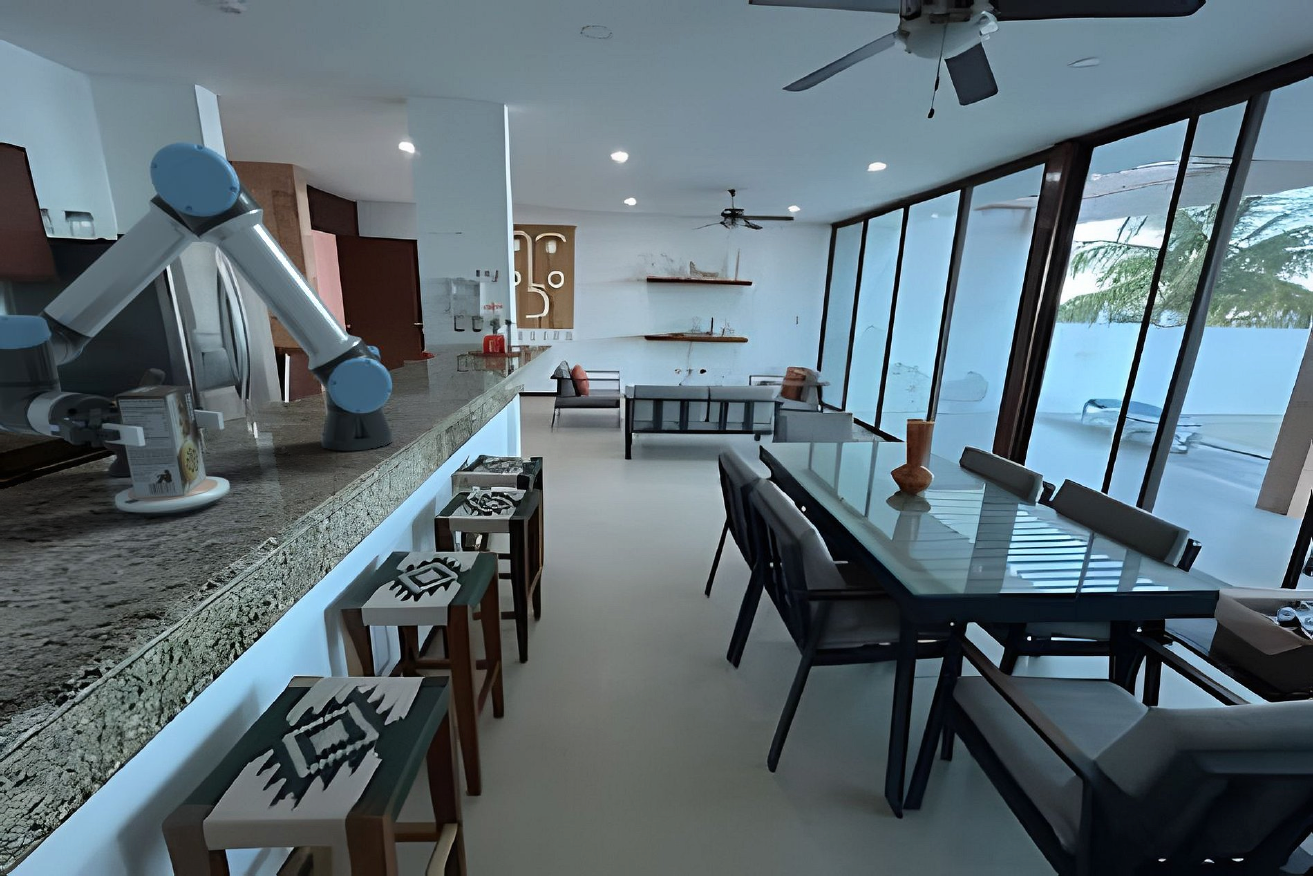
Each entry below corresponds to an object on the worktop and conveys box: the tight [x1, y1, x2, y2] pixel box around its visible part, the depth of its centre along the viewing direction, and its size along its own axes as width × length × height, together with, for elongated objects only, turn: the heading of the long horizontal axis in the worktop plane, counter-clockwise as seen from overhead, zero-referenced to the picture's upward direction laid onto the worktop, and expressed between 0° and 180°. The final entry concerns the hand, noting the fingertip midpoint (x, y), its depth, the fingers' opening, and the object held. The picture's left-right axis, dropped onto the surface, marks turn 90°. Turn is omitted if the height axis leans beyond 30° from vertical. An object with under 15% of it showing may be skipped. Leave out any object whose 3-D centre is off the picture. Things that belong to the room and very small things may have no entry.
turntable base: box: [135, 499, 217, 519], centre depth 90 cm, size 10×10×2 cm
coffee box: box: [114, 384, 207, 499], centre depth 87 cm, size 9×6×16 cm
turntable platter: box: [114, 475, 231, 513], centre depth 90 cm, size 14×14×1 cm
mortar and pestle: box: [103, 367, 166, 477], centre depth 104 cm, size 12×9×20 cm
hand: (183, 428), depth 86 cm, fingers open, 11 cm apart
